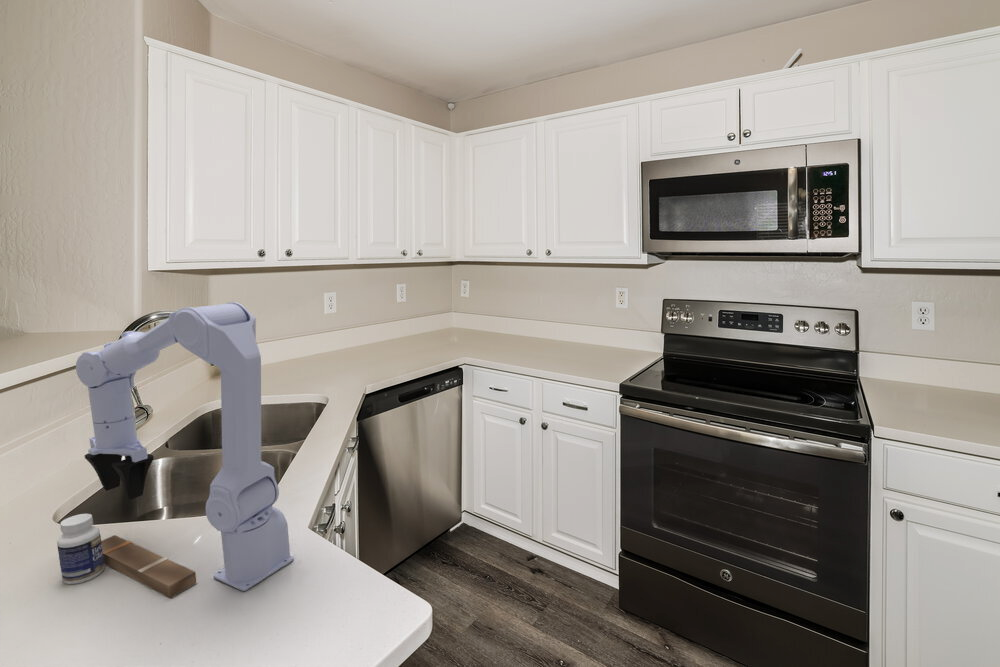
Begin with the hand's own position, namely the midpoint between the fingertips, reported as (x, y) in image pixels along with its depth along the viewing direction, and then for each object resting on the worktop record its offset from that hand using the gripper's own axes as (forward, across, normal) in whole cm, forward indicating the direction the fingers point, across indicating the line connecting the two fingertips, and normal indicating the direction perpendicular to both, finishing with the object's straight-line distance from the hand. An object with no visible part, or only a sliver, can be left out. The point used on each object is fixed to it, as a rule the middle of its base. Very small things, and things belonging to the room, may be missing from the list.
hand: (123, 492), depth 89 cm
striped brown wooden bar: (+10, +9, -3) cm, 14 cm away
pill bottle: (+11, +2, -8) cm, 13 cm away
